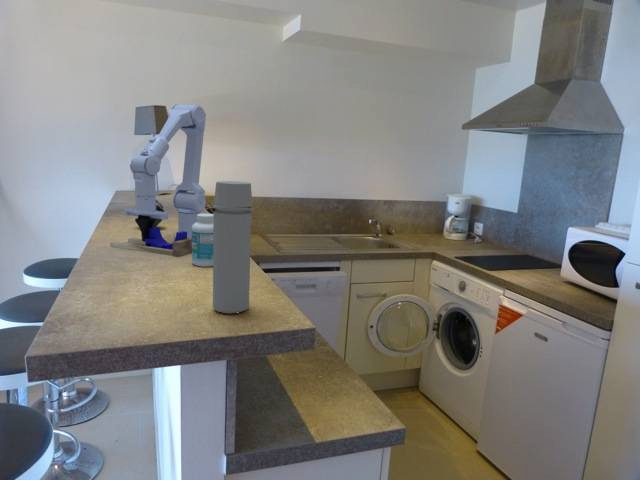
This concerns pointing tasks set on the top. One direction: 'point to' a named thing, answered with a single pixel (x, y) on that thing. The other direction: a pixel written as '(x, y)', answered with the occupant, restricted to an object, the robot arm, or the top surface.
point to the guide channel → (178, 248)
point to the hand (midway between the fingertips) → (146, 240)
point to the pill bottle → (202, 241)
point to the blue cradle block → (162, 239)
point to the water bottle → (231, 246)
